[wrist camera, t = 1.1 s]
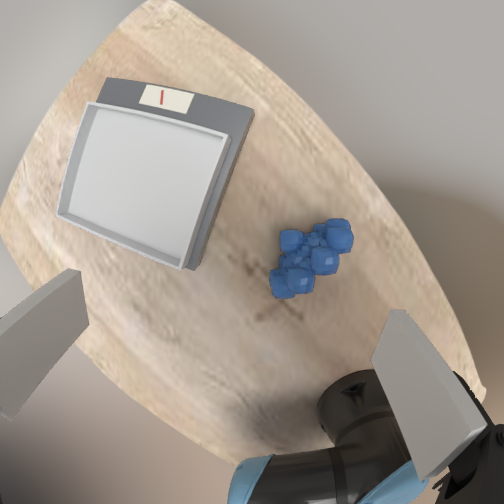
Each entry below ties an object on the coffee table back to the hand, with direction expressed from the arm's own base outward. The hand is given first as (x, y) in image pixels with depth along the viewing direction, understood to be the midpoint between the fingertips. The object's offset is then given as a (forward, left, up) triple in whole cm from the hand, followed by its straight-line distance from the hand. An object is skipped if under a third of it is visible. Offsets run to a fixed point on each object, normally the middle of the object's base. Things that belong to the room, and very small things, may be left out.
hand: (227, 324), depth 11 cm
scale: (+16, -4, -26) cm, 31 cm away
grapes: (-6, -1, -26) cm, 27 cm away
